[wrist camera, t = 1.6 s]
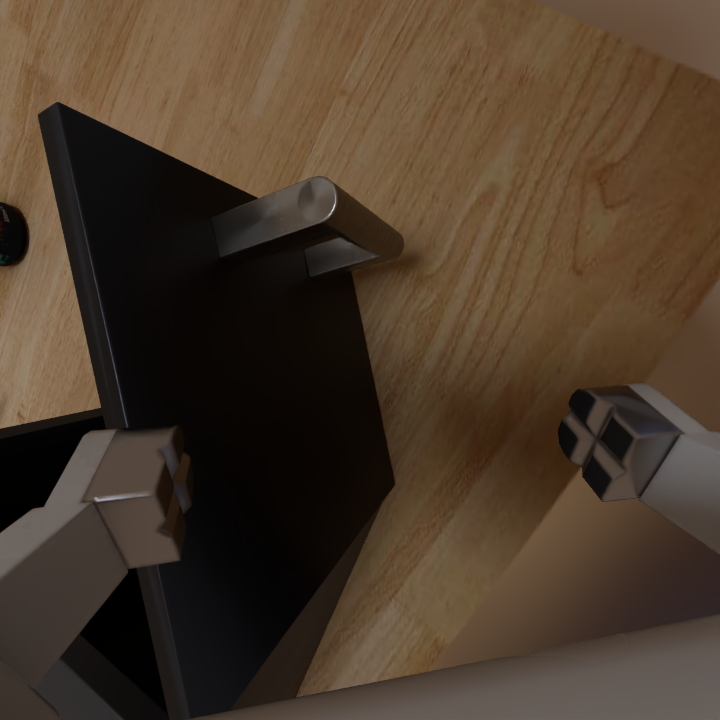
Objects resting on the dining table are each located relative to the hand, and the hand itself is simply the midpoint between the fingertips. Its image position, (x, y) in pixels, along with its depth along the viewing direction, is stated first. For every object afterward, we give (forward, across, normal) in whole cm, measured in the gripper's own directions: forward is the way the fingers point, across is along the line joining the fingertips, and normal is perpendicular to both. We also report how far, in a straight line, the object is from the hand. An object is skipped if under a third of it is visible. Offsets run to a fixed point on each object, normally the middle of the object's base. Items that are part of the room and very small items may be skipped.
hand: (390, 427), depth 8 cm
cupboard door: (+19, -6, +11) cm, 23 cm away
